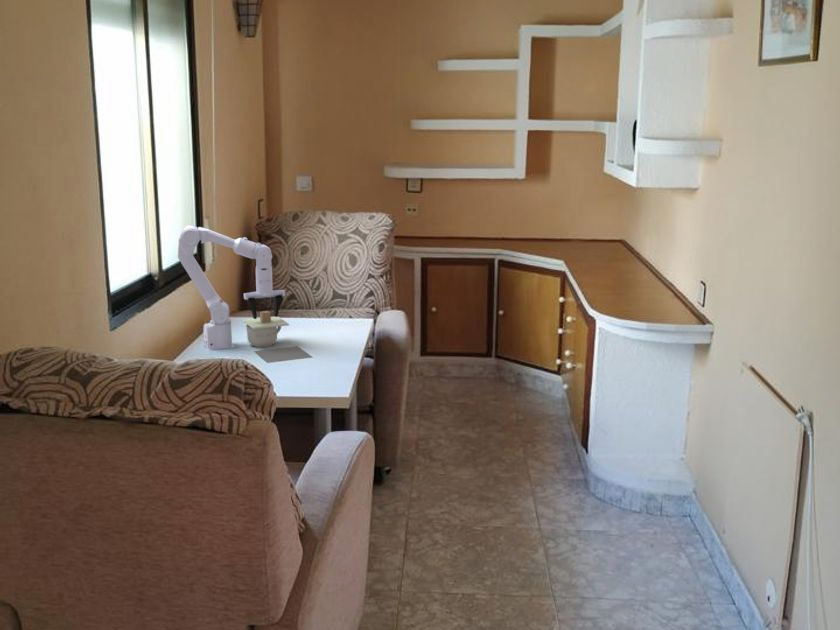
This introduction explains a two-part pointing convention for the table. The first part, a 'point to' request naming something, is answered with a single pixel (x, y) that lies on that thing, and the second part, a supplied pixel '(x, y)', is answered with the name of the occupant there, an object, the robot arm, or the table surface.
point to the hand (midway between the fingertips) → (265, 317)
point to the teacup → (262, 336)
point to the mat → (282, 354)
